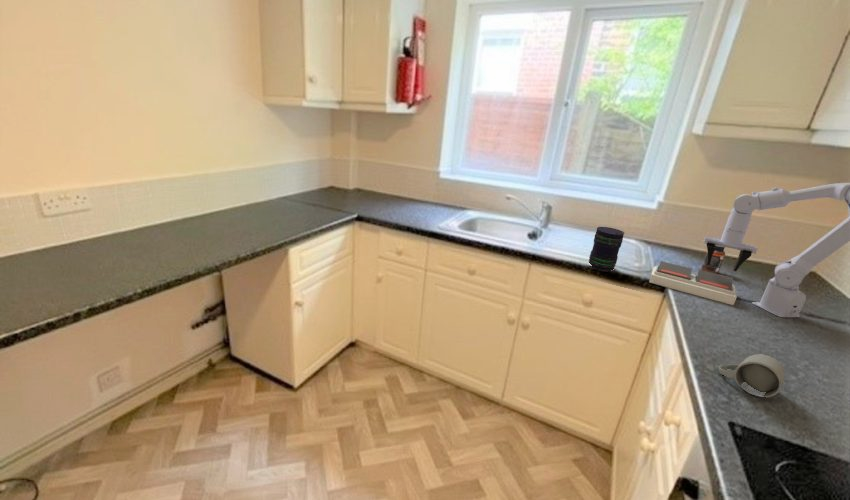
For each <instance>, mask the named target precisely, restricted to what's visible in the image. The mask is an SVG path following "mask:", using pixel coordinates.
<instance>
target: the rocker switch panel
mask: <svg viewBox="0 0 850 500" xmlns="http://www.w3.org/2000/svg"><path fill="white" fill-rule="evenodd" d="M658 268H659V265H658V264H657V265H655V266H654V267H653V269H652V272H651V275H650V278H649V281H648V283H650V284H654V285H658V286H661V287H664V288H669V289H672V290H676V291H679V292H683V293H687V294H692V295H694V296H697V297H702V298H705V299H709V300H712V301H716V302H720V303H723V304H728V305H731V306H734V304H735V302H736V300H737V292H736V288H735V285H734V284H732V291H730V290H726V289H723V288H719V287H715V286H711V285H707V284H703V283H699V282H696V279H697V274H694V273H691V276H690V280H688V279H684V278H680V277H676V276H672V275H668V274H664V273H660V272H657V271H658Z"/></svg>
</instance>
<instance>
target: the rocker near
mask: <svg viewBox="0 0 850 500" xmlns="http://www.w3.org/2000/svg"><path fill="white" fill-rule="evenodd" d="M696 275H697V279H696V282H699V283H703V284H707V285H711V286H715V287H719V288H723V289H726V290H730V291H732V284H733V283H734V277H731V276H727V275H723V274H718V273H716V274H715V273H711V272H707V271H703V270H702V269H698V271H697V274H696ZM733 285H734V284H733Z"/></svg>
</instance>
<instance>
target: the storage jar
mask: <svg viewBox="0 0 850 500" xmlns="http://www.w3.org/2000/svg"><path fill="white" fill-rule="evenodd" d="M624 236H625V232H624V231H622V230H620V229H617V228H614V227H608V226H597V227H596V231H595V234H594V238H593V245H592V250H591V251H590V255H589V259H588V262H589V263H590V264H591V265H592V267H594V268H593V269H595V270H597V269H598V270H597V271H601V272H608V271H610V272H612V271H611V270H613V269H614V268H615V267H616V265H617V263H618V262H617V261H618V260H619V259H618V258H619V256H618V255H619V251H620V248H621V247H622V244H623V240H624ZM592 267H591V268H592ZM614 270H615V269H614Z"/></svg>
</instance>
